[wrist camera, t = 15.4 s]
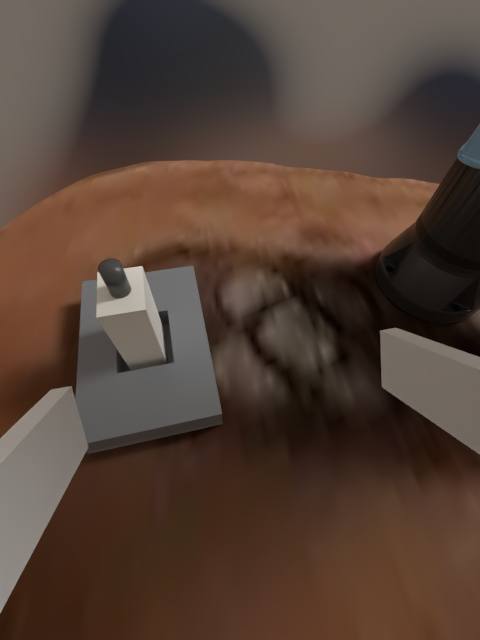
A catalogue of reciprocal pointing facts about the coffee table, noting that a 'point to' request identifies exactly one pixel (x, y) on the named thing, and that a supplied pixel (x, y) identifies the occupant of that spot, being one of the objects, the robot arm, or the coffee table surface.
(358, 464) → the coffee table surface
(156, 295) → the socket panel
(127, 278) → the plug
